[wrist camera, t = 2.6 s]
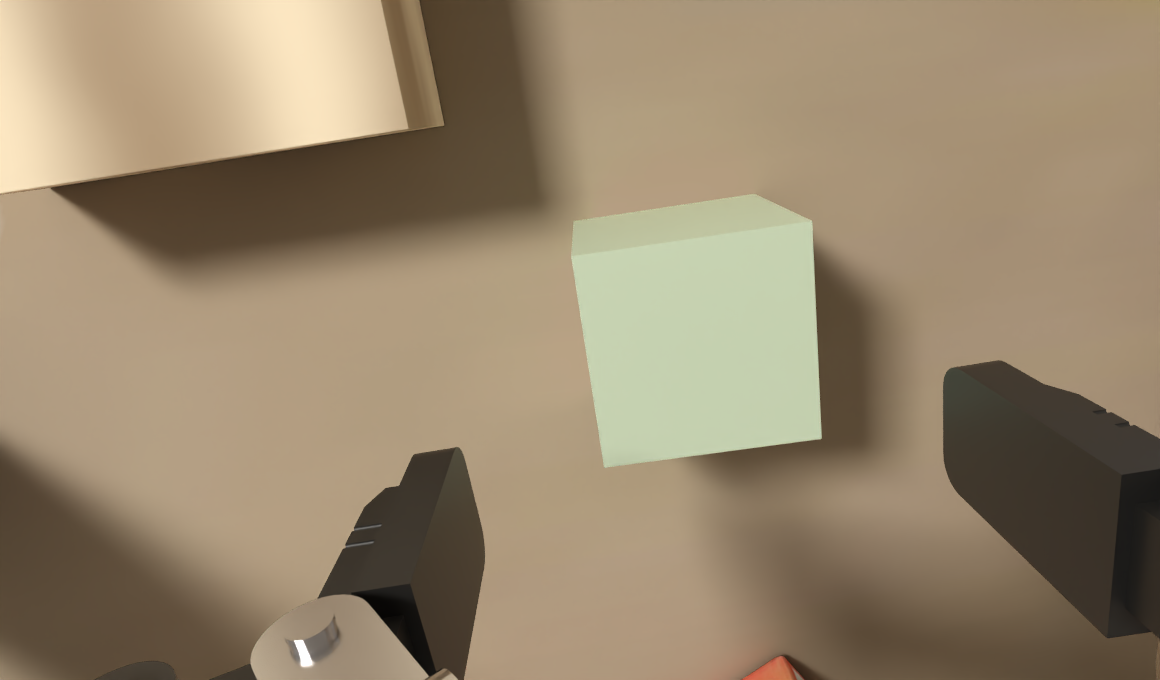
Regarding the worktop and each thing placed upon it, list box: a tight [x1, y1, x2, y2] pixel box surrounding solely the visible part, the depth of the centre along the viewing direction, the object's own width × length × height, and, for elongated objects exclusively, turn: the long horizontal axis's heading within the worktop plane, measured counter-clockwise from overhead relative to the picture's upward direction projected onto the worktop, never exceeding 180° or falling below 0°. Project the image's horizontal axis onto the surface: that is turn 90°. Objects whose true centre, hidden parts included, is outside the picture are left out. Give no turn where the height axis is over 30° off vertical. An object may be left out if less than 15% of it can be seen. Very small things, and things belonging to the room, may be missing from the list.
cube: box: [571, 194, 822, 468], centre depth 17 cm, size 5×5×5 cm
